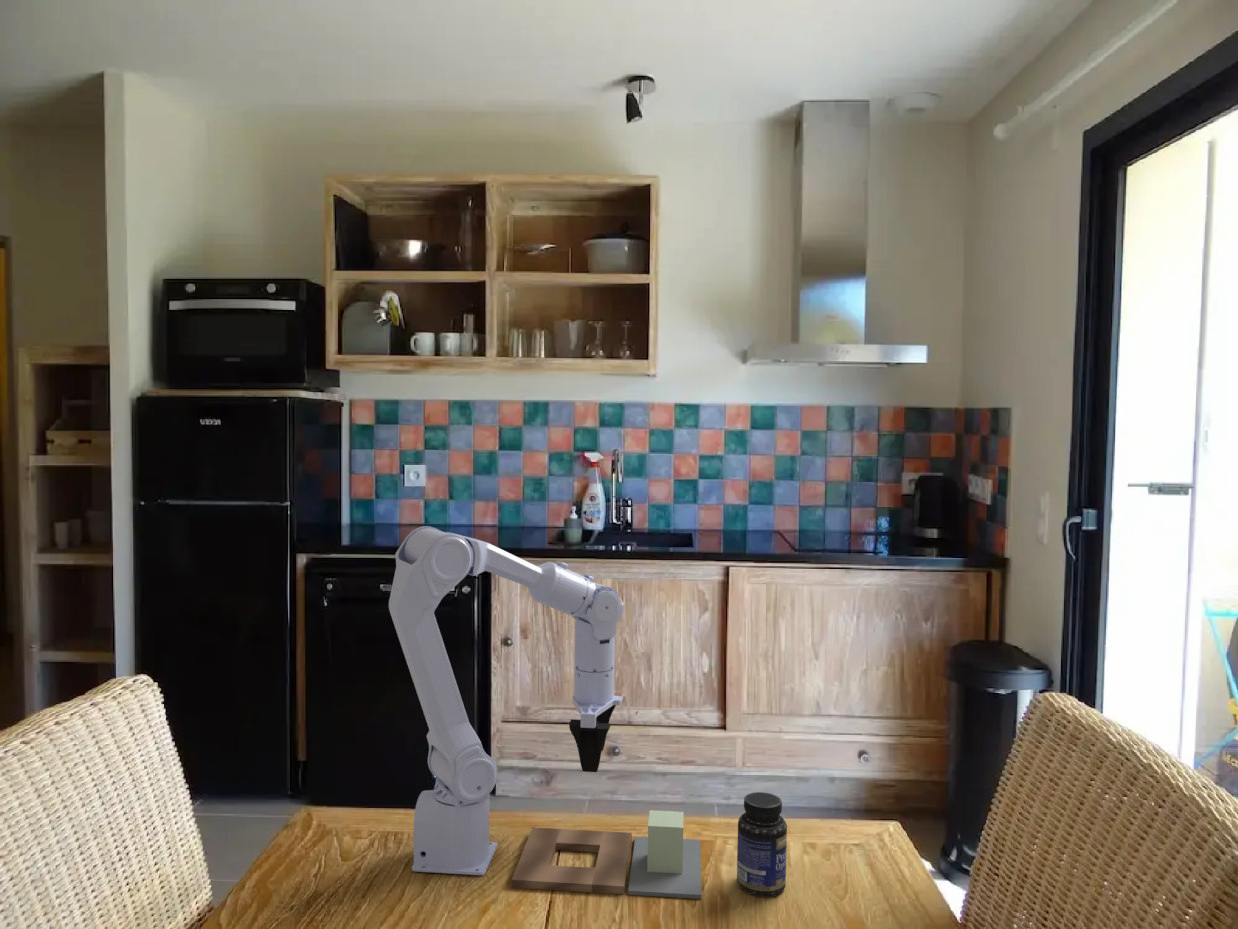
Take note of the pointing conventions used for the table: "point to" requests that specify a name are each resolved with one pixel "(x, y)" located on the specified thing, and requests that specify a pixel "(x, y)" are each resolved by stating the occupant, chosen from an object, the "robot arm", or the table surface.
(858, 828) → the table surface
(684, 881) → the mat
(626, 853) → the pocket board
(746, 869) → the pill bottle
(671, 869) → the sage block
